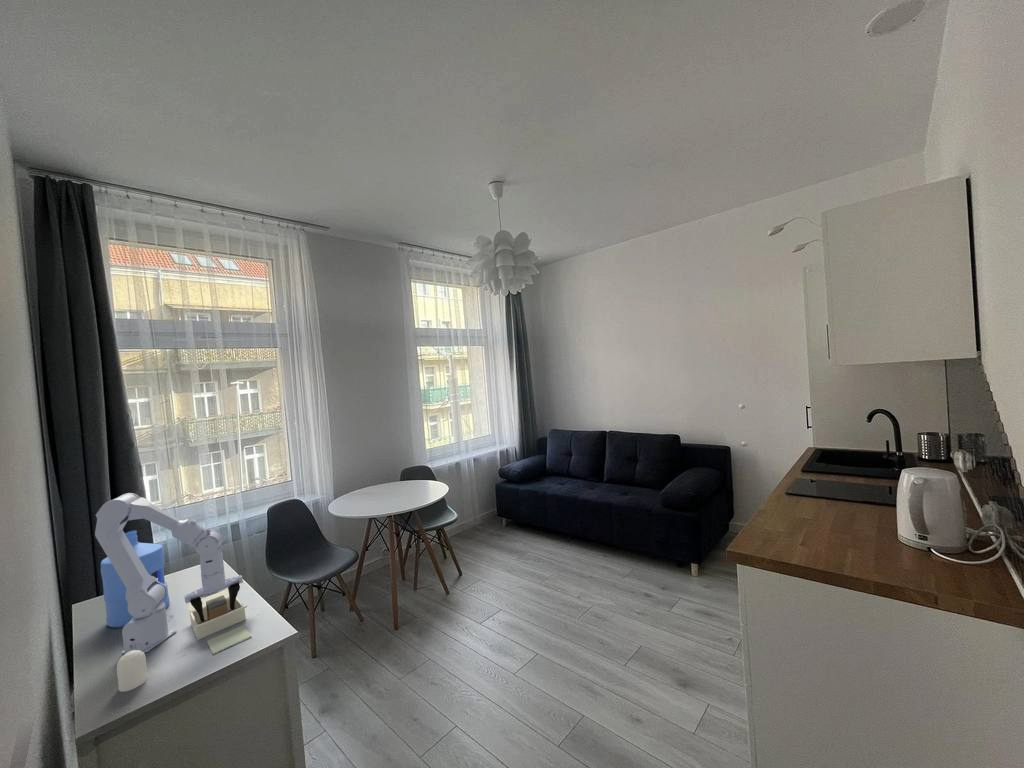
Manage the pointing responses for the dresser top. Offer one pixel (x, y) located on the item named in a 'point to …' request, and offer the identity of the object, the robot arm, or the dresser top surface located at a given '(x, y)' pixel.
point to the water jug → (115, 587)
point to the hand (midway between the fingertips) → (217, 614)
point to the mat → (228, 639)
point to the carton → (217, 622)
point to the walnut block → (216, 607)
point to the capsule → (131, 670)
